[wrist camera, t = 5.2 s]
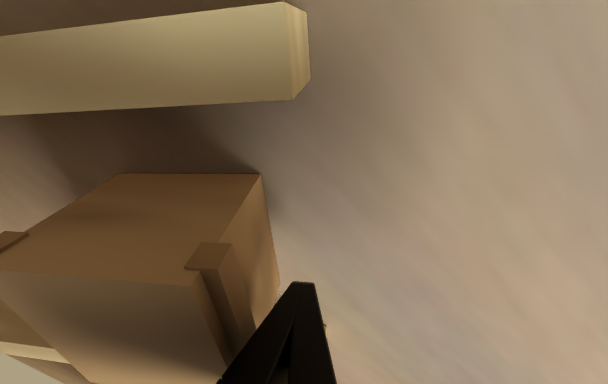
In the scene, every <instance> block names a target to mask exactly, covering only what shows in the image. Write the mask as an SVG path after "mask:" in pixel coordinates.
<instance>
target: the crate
mask: <svg viewBox="0 0 608 384" xmlns="http://www.w3.org/2000/svg"><path fill="white" fill-rule="evenodd" d="M279 285H280V279H279V273H278V268H277V262H276V256H275V251H274V245H273V239H272V234H271V228H270V223H269V217H268V211H267V206H266V200H265V194H264V189H263V183H262V178H261V174H163V173H120V174H118V175H117V176H115V177H113V178H112V179H110V180H108V181H107V182H105V183H103V184H102V185H100V186H99V187H97V188H95V189H94V190H92V191H90V192H89V193H87V194H85V195H84V196H82V197H81V198H79V199H77V200H76V201H74V202H72V203H71V204H69V205H67V206H66V207H64V208H62V209H61V210H59V211H58V212H56V213H54V214H53V215H51V216H49V217H48V218H46V219H44V220H43V221H41V222H40V223H38V224H36V225H35V226H33V227H31V228H30V229H28V230H26V231H25V232H10V231H4V232H2V233H1V234H0V299H1V300H2V301H4V302H5V303H6V304H7V305H8V306H9V307H10V308H11V309H12V310H13V311H14V312H15V313H16V314H17V315H19V316H20V317H21V318H22V319H23V320H24V321H25V322H26V323H27V324H28V325H29V326H30V327H31V328H32V329H34V330H35V331H36V332H37V333H38V334H39V335H40V336H41V337H42V338H43V339H44V340H45V341H46V342H47V343H49V344H50V345H51V346H52V347H53V348H54V349H55V350H56V351H57V352H58V353H59V354H60V355H61V356H62V357H63V358H65V359H66V360H67V361H68V362H69V363H70V364H71V365H72V366H73V367H74V368H75V369H76V370H77V371H78V372H80V373H81V374H82V375H83V376H84V377H85V378H86V379H87V380H88V381H89V382H92V383H98V384H216V382H217V381H218V380H219V379H220V378H221V379H222V375H223V373H224V372H225V371H226V369H227V368H228V367H229V365H230V364H231V363H232V361H233V360H234V359H235V357H236V356H237V355H238V353H239V352H240V351H241V349H242V348H243V347H244V345H245V344H246V343H247V341H248V340H249V339H250V337H251V336H252V335H253V333H254V332H255V331H256V329H257V328H258V327H259V325H260V324H261V323H262V322H263V320H264V319H265V318H266V316H267V315H268V314H269V312H270V311H271V310H272V308H273V307H274V303H275V300H276V296H277V292H278V289H279Z"/></svg>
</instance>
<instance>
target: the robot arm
mask: <svg viewBox="0 0 608 384" xmlns="http://www.w3.org/2000/svg"><path fill="white" fill-rule="evenodd" d="M216 384H337V382H336V377H335V373H334V369H333V364H332V360H331V355H330V351H329V346H328V342H327V337H326V333H325V329H324V324H323V320H322V315H321V311H320V306H319V302H318V297H317V293H316V289H315V285H314V283H311V282H299V281H294V282H292V283H291V284H290V286H289V287H288V288H287V290H286V291H285V292H284V294H283V295H282V296H281V298H280V299H279V300H278V302H277V303H276V304H275V306H274V307H273V308H272V310H271V311H270V312H269V314H268V315H267V316H266V318H265V319H264V320H263V322H262V323H261V324H260V325H259V327H258V328H257V329H256V331H255V332H254V333H253V335H252V336H251V337H250V339H249V340H248V341H247V343H246V344H245V345H244V347H243V348H242V349H241V351H240V352H239V353H238V355H237V356H236V357H235V359H234V360H233V361H232V363H231V364H230V365H229V367H228V368H227V369H226V371H225V372H224V373H223V375H222V379H221V378H220V379H219V380H218V381H217V382H216Z"/></svg>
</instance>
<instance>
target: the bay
mask: <svg viewBox="0 0 608 384" xmlns="http://www.w3.org/2000/svg"><path fill="white" fill-rule="evenodd" d="M310 79H311V73H310V57H309V41H308V25H307V12H304V11H302V10H300V9H298V8H296V7H294V6H292V5H290V4H288V3H286V2H284V1H282V2H274V3H266V4H258V5H250V6H242V7H234V8H225V9H217V10H209V11H201V12H193V13H185V14H177V15H169V16H160V17H152V18H144V19H136V20H128V21H120V22H112V23H104V24H95V25H87V26H79V27H71V28H63V29H55V30H47V31H39V32H30V33H22V34H14V35H6V36H0V116H6V115H24V114H42V113H60V112H79V111H97V110H115V109H133V108H151V107H169V106H188V105H206V104H224V103H242V102H260V101H278V100H293V99H294V98H295V97H296V96H297V95H298V93H299V92H300V91H301V90H302V89H303V88H304V86H305V85H306V84H307V83H308V82H309V80H310ZM324 329H325V333H326V337H327V326H324ZM327 342H328V340H327ZM0 353H2V354H9V355H15V356H22V357H29V358H36V359H42V360H49V361H56V362H63V363H69V362H68V361H67V360H66V359H65V358H63V357H62V356H61V355H60V354H59V353H58V352H57V351H56V350H55V349H54V348H53V347H52V346H51V345H50V344H49V343H47V342H46V341H45V340H44V339H43V338H42V337H41V336H40V335H39V334H38V333H37V332H36V331H35V330H34V329H32V328H31V327H30V326H29V325H28V324H27V323H26V322H25V321H24V320H23V319H22V318H21V317H20V316H19V315H17V314H16V313H15V312H14V311H13V310H12V309H11V308H10V307H9V306H8V305H7V304H6V303H5V302H4V301H2V300H1V299H0ZM69 364H70V363H69Z"/></svg>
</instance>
